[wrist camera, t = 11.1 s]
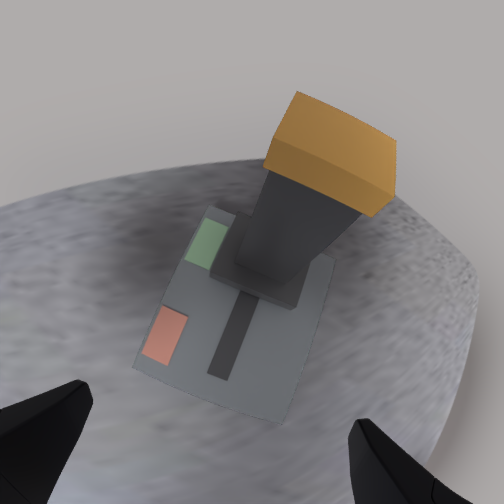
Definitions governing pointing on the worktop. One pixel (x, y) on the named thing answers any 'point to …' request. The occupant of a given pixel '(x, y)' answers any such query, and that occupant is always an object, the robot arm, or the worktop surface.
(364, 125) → the breaker handle
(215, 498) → the worktop surface
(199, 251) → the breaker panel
